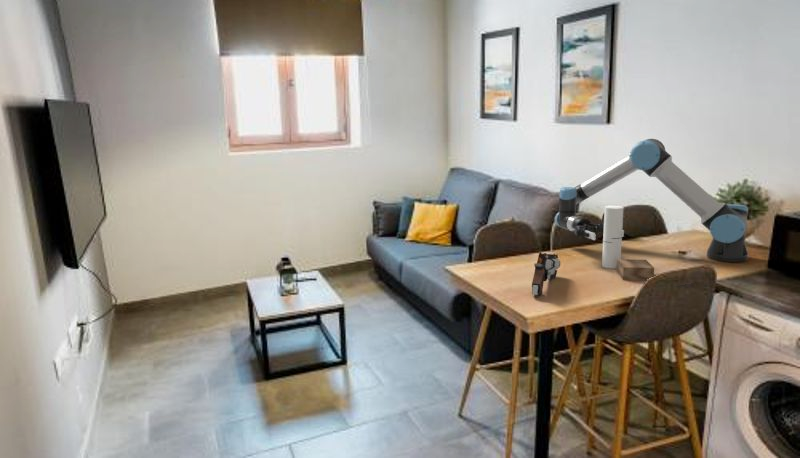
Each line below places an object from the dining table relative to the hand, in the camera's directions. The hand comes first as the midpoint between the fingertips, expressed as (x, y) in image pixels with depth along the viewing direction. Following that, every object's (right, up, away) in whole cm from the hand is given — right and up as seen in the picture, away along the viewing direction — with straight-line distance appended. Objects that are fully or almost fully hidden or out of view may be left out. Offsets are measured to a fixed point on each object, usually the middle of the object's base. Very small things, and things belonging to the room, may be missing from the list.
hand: (609, 235), depth 228 cm
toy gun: (-32, -19, -20) cm, 42 cm away
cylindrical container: (+1, -13, +2) cm, 13 cm away
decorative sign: (+19, -1, +50) cm, 54 cm away
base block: (+5, -16, -12) cm, 20 cm away
